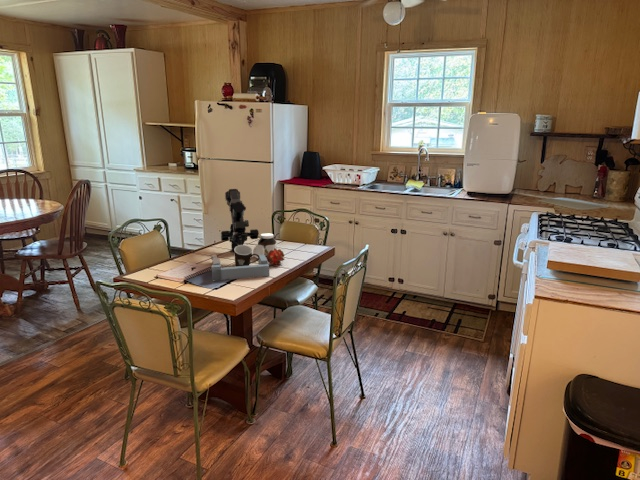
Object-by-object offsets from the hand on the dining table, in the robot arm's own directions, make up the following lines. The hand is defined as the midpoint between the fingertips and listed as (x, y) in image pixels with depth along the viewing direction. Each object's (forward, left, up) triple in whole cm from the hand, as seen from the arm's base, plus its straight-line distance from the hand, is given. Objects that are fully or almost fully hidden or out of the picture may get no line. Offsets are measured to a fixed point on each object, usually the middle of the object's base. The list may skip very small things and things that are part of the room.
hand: (241, 249), depth 225 cm
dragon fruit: (-7, +15, -8) cm, 19 cm away
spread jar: (-17, +3, -8) cm, 19 cm away
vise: (+13, +8, -8) cm, 17 cm away
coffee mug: (+6, +6, -7) cm, 11 cm away
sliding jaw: (+12, -7, -8) cm, 16 cm away
